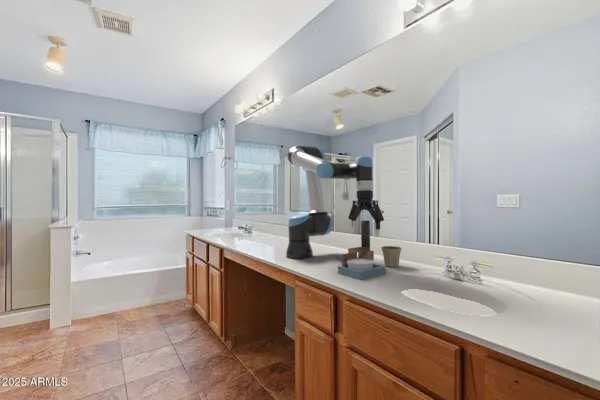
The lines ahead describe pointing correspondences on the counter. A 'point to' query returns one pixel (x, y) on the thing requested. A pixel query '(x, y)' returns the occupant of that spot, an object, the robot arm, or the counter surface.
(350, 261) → the ramekin
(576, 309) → the counter surface
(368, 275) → the frame
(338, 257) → the rail
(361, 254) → the pusher
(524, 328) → the counter surface
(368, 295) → the counter surface
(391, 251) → the flower pot
